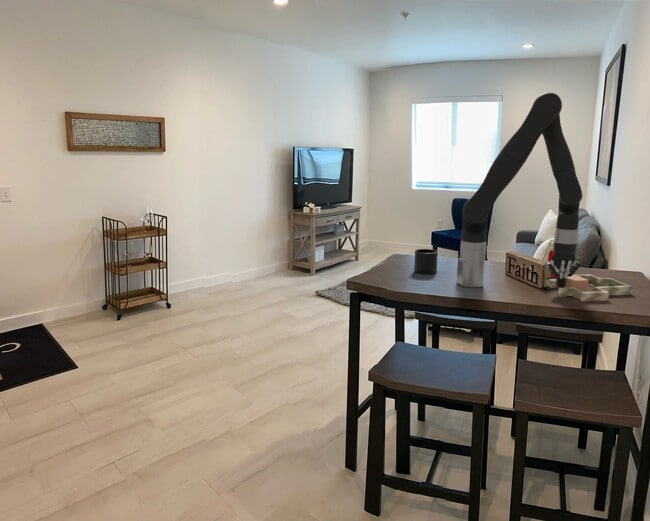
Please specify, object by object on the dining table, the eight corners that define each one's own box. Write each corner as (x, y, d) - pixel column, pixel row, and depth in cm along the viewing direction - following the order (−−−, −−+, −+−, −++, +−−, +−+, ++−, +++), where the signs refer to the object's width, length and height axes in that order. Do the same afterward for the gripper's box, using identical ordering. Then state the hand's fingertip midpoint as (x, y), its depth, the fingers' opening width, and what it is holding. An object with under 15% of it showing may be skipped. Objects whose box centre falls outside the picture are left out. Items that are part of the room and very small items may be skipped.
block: (570, 294, 179) (572, 280, 178) (562, 289, 185) (563, 276, 184) (586, 293, 179) (588, 280, 178) (577, 289, 185) (578, 276, 184)
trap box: (569, 301, 170) (570, 293, 169) (533, 283, 193) (534, 275, 192) (643, 299, 172) (644, 291, 171) (599, 281, 195) (600, 274, 195)
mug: (436, 268, 217) (437, 248, 216) (436, 275, 206) (437, 253, 204) (415, 267, 220) (415, 247, 218) (413, 273, 208) (414, 252, 206)
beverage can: (564, 281, 196) (568, 251, 194) (548, 280, 197) (551, 250, 195) (560, 277, 202) (563, 248, 200) (544, 276, 203) (547, 247, 201)
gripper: (553, 243, 173) (548, 291, 177) (589, 242, 174) (583, 290, 178) (542, 239, 180) (537, 285, 184) (576, 239, 182) (571, 284, 185)
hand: (560, 287), depth 181 cm, fingers closed
